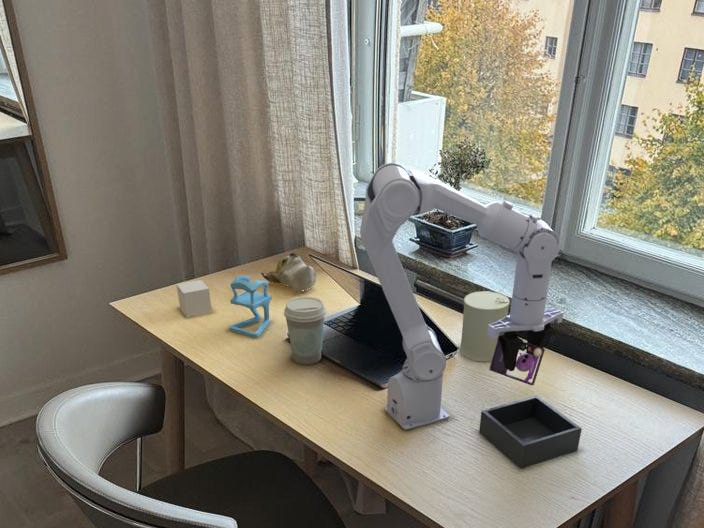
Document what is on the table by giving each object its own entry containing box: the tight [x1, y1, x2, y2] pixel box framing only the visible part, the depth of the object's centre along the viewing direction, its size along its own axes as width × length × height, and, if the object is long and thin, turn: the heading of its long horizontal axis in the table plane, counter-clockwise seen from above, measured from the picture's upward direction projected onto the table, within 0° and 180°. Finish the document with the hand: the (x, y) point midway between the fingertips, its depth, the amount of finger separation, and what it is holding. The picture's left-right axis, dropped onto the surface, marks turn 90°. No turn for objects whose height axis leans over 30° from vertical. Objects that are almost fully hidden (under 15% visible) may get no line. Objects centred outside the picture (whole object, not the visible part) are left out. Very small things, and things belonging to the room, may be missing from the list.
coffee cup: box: [283, 296, 327, 365], centre depth 159 cm, size 8×8×12 cm
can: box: [459, 290, 511, 362], centre depth 160 cm, size 9×9×12 cm
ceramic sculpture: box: [260, 252, 317, 294], centre depth 191 cm, size 11×9×15 cm
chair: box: [228, 275, 273, 339], centre depth 171 cm, size 8×8×12 cm
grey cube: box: [176, 279, 213, 319], centre depth 181 cm, size 6×6×6 cm
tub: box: [478, 395, 582, 469], centre depth 134 cm, size 12×12×5 cm
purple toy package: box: [489, 341, 546, 386], centre depth 139 cm, size 7×5×9 cm
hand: (519, 365), depth 140 cm, fingers closed on purple toy package, 4 cm apart
